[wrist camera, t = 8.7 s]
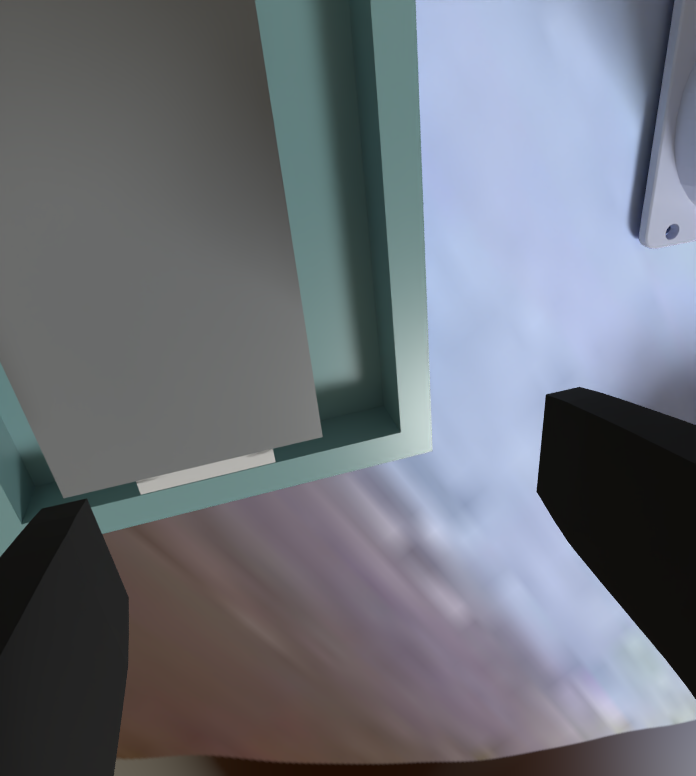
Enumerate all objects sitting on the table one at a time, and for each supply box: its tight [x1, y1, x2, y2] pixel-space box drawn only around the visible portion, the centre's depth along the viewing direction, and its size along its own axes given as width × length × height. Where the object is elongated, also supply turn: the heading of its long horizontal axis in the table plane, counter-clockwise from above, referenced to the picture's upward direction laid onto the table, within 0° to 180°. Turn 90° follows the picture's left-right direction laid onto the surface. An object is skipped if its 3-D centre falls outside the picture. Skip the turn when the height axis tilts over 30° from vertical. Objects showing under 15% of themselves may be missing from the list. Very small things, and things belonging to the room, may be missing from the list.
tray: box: [0, 0, 432, 556], centre depth 14 cm, size 13×15×2 cm
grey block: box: [0, 0, 323, 498], centre depth 12 cm, size 5×9×6 cm, turn 6°
